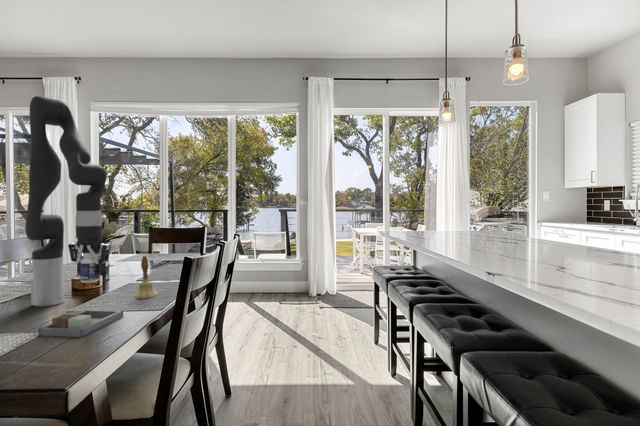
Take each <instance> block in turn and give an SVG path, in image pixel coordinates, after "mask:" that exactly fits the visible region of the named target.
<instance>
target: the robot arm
mask: <svg viewBox="0 0 640 426" xmlns="http://www.w3.org/2000/svg"><path fill="white" fill-rule="evenodd" d="M71 110H72V109H71V108H70V107H69V104H67V102H65V101H63V100H60V99H54V98H51V97H45V96H38V95H35V96H34V97H32V98H31V100H30V104H29V126H30V127H29V128H30V155H29V171H28V173H29V174H28V177H29V178H28V181H29V182H28V183H29V184H28V188H29V189H28V202H27V210H26V217H25V226H24V227H25V228H24V229H25V235H26V237H27V239H28V240H29V241H44V240H48V241H47V243H46V244H45V245H44V246H42V247H39V248H36V249H35V250H33V251H32V252H31V258H32V261H31V262H32V263H31V264H32V278H31V279H30V299H31V306H34V307H40V308H41V307H49V306H57V305H60V304H62V303H64V302H65V284H64V283H65V279H64V276H65V275H64V256H63V255H64V254H63V252H64V237H65V236H64V234H65V225H64V219H63V218H62V216H61V215H59V214H42V210H43V207H44V204H45V203H46V201H47V199H48V198H49V196H50V195H51V194H52V193H53V192H54V191H55V190H56V188H57V187H58V186H59V184H60V182H61V178H62V177H61V176H62V162H61V160H60V158H59V155H58V154H57V152H56V151H55V150H54V148H53V146H52V145H51V143H50V141H49V139H48V136H47V131H46V130H47V129H46V125H48V126H55V127H60V128H61V129H62V131H63V132H62V133H61V134H62V135H61V137H60V139H59V144H58V145H59V149H60V152H61V154H62V155H63V157H64V159H65V161H66V164H67V170H68V177H69V180H70V181H71V182H72V183H73V184H74V185H77V186H90V187H89V189H88V191H84V192H79V193H78V194H76V197H75V207H76V211H75V238H76V239H77V241H76V242H73V243H69V244H68V245H67V247H68V251H69V257H70V260H71V262H75V263H76V265H77V266H76V270H77V274H78V275H80V261H81V260H82V259H83V258H84V257H83V253H90V254H91V257H92V258H93V259H94V261H95V263H96V264H95V275H99V276H100V275H101V274H103V263H106V262H108V261H109V259H110V252H111V244H110V243H107V244H106V243H103V241H102V238H103V214H102V205H101V204H102V201H101V200H102V195H103V192H104V188H105V184H106V182H107V172H106V169H105V168H104V166H102V165H100V164H90V162H91V155H90V153H89V151H88V149H87V148H86V146H85V144H84V143H83V141H82V139H81V136H80V134H79V132H78V129H77V128H78V127H77V125H76V121H75V118H74V116H73V114H72V111H71ZM96 254H97V255H96Z"/></svg>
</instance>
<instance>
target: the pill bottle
mask: <svg viewBox="0 0 640 426" xmlns="http://www.w3.org/2000/svg"><path fill="white" fill-rule="evenodd" d="M96 255H97V254H96ZM83 257H84V258H83V259H82V260H81V261H80V274H79V275H80V282H81V283H84V284H86V283H87V284H88V283H89V284H90V283H95V282H96V283H97V282H98V281H100V275H95V264H96V263H95V261H94V259H93V258H92V257H91V254H90V253H83Z"/></svg>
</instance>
